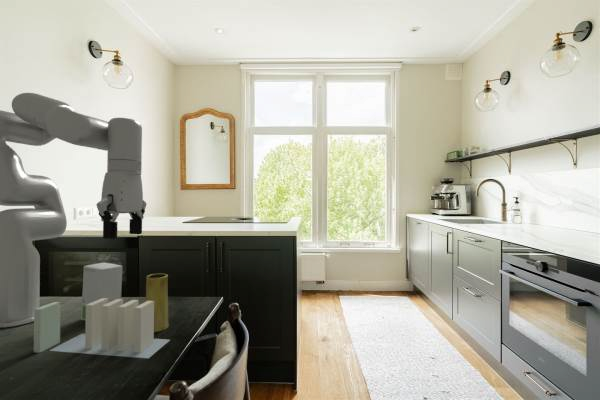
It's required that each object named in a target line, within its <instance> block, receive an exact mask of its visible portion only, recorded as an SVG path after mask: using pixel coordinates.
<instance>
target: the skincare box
mask: <svg viewBox="0 0 600 400" xmlns="http://www.w3.org/2000/svg"><path fill="white" fill-rule="evenodd" d="M82 274H83V276H82V277H83V278H82V295H81V298H82V299H81V315H80V316H81V317H80V318H81V319H80V320H82V321H85V322H86V305H87V304H89V303H92V302H94V301H97V300H99V299H101V298H108V303H109V302H112V301H114V300H116V299H122V284H123V283H122V281H123V280H122V279H123V265H120V264H117V263H116V264H115V263H109V262H99V263H94V264H93V263H92V264H88V265H83V273H82Z"/></svg>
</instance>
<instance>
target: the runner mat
mask: <svg viewBox="0 0 600 400" xmlns="http://www.w3.org/2000/svg"><path fill="white" fill-rule="evenodd" d="M170 341H171V339H165V338H163V339H162V338H154V343H152V344H151V345H150V346H149V347H147V348H146V349H145V350H143V351H142V352H141V353H137V352H134V345H132V346H131V347H130V348H128V349H127V350H125V351H117V347H118V344H117V345H115V346H113V347H112V348H110V349H109V350H101V344H99V345H98V346H96V347H94V348H93V349H85V333H80V334H78V335H77V336H75V337H73V338H72V337H71V338H70V339H69V340H66V341H65V342H63V343H61V344H58V345H57V346H55V347H54V348H53V347H52V348H50V349H49V351H50V352H60V353H72V354H73V353H74V354H84V355H86V354H87V355H98V356H99V355H101V356H112V357H113V356H114V357H123V358H137V359H150V358H151V357H152V356H153V355H154V354H156V353H157V352H158V351H159V350H161V349H162V347H164V346H165V345H166V344H168V343H169V342H170Z"/></svg>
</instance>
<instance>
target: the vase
mask: <svg viewBox="0 0 600 400" xmlns="http://www.w3.org/2000/svg"><path fill="white" fill-rule="evenodd" d="M168 278H169V275H168V273H167V274H166V273H163V272H162V273H152V274H149V275H146V278H145V279H146V282H145V283H146V285H145V302H146V301H154V333H157V332H161V331H163V330H164V331H165V330H166V329H167V328H169V326H170V324H169V295H168V293H169V291H168V283H169V282H168V281H169V279H168Z"/></svg>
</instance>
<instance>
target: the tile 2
mask: <svg viewBox="0 0 600 400" xmlns="http://www.w3.org/2000/svg"><path fill="white" fill-rule="evenodd" d="M107 303H108V298H101V299H99V300H97V301H94V302H92V303H89V304H87V305H86V321H85V331H84V332H85V333H84V334H85V349H93V348H94V347H96V346H98V345H99V344H101V330H102V306H103V305H105V304H107Z"/></svg>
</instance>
